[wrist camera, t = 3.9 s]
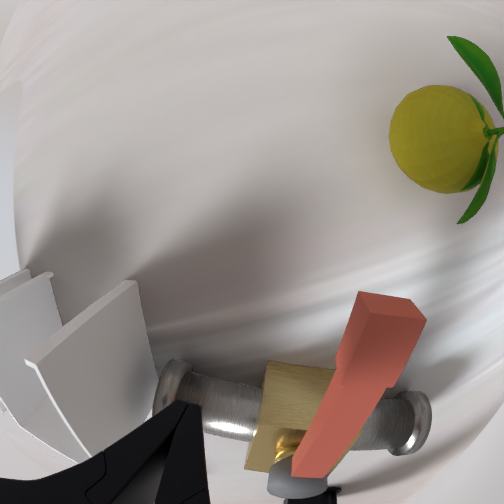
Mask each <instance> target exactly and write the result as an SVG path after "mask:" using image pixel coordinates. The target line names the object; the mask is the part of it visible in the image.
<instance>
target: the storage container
mask: <svg viewBox="0 0 504 504" xmlns="http://www.w3.org/2000/svg"><path fill="white" fill-rule="evenodd" d="M51 277H53V272H44V273H42V274H40V275H38V276H36V277H34V278H31V273H30V269H23V270H21V271H19V272H17V273H15V274H13V275H11V276H9V277H7V278H5V279H3V280H1V281H0V411H1V412H2V413H4V412H5V411H6V410H8V411H9V412H10V414H11V415H12V417H13V418H14V420H15V421H16V423H17V424H18V425H19V427H21V428H22V429H24V430H25V431H26V432H28V433H29V434H30V435H32V436H33V437H35V438H36V439H38V440H39V441H40V442H42V443H43V444H45V445H47V446H48V447H50V448H51V449H53V450H55V451H56V452H58V453H60V454H61V455H63V456H65V457H66V458H68V459H70V460H72V461H74V462H75V463H77V464H79V463H82V462H84V461H85V460H87V459H89V458H91V457H93V456H94V455H96V454H97V453H99V452H101V451H104V449H106V448H107V447H109V446H110V445H112V444H113V443H115V442H116V441H118V440H119V439H121V438H122V437H124V436H125V435H127V434H128V433H130V432H131V431H133V430H134V429H136V428H137V427H139V426H140V425H142V424H143V423H144V421H145V419H146V418H147V416H148V414H149V412H150V410H151V409H152V407H153V401H154V396H155V392H156V388H157V385H158V382H159V379H158V375H157V372H156V368H155V364H154V360H153V356H152V352H151V348H150V344H149V339H148V335H147V330H146V326H145V321H144V316H143V311H142V305H141V300H140V294H139V288H138V282H137V281H134V280H124V281H123V282H121V283H120V284H118V285H117V286H116V287H114V288H113V289H112V290H110V291H109V292H107V293H106V294H105V295H103V296H102V297H101V298H99V299H98V300H97V301H95V302H94V303H93V304H91V305H90V306H89V307H87V308H86V309H85V310H83V311H82V312H81V313H79V314H78V315H77V316H76V317H74V318H73V319H72V320H70V321H69V322H68V323H67V324H65V325H64V326H63V325H62V322H61V318H60V315H59V312H58V308H57V305H56V301H55V298H54V294H53V290H52V286H51V282H50V278H51Z"/></svg>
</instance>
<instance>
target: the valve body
mask: <svg viewBox="0 0 504 504" xmlns="http://www.w3.org/2000/svg"><path fill="white" fill-rule="evenodd" d="M335 371H336V370H330V369H321V368H313V367H305V366H298V365H292V364H285V363H279V362H273V361H267V365H266V369H265V373H264V377H263V381H262V385H261V387H255V386H250V385H245V384H240V383H235V382H230V381H226V380H221V379H217V378H213V377H209V376H205V375H201V374H197V373H193V366H192V364H191V363H190V362H186V361H183V360H179V359H175V358H173V359H171V360H170V361H169V362H168V364H167V365H166V367H165V368H164V370H163V372H162V374H161V377H160V379H159V382H158V385H157V388H156V392H155V396H154V401H153V409H152V417H153V416H154V415H156V414H157V413H158V412H160V411H161V410H163V409H164V408H165V407H167V406H168V405H169V404H171V403H172V402H173V401H175V400H176V399H181V400H185V401H188V402H189V403H195V404H199V405H201V406H202V420H203V432H204V433H208V434H212V435H217V436H221V437H226V438H230V439H235V440H240V441H246V442H249V445H248V450H247V455H246V461H245V466H244V469H246V470H252V471H259V472H266V473H269V469H270V467H271V465H272V464H274V463H276V462H278V461H281V460H284V459H289V458H292V457H293V455H294V454H295V452H296V450H297V448H298V446H299V445H300V443H301V441H302V439H303V437H304V436H305V434H306V432H307V430H308V428H309V426H310V424H311V422H312V420H313V418H314V416H315V414H316V412H317V410H318V408H319V406H320V404H321V402H322V400H323V398H324V395H325V393H326V391H327V389H328V387H329V384H330V382H331V380H332V378H333V375H334V373H335ZM431 422H432V410H431V405H430V402H429V399H428V398H427V396H426V395H425V394H424V393H423V392H421V391H403V392H401V393H399V394H398V395H397V396H396V397H395V398H394V399H380V400H379V402H378V404H377V405H376V407H375V408H374V410H373V411H372V413H371V415H370V416H369V418H368V419H367V421H366V422H365V424H364V425H363V427H362V428H361V430H360V431H359V432H358V434H357V435H356V437H355V438H354V439H353V441H352V442H351V444H350V445H349V446H348V448H347V449H346V450H345V451H344V453H343V454H342V455H341V457H340V458H339V459H338V460H337V462H336V463H335V464H334V465H333V467H332V468H331V469H330V470H329V471H328V473H327V477H328V476H329V474H330V473H331V472H332V471H333V470H334V469H335V468H336V466H337V465H338V464H339V463H340V462H341V460H342V459H343V458H344V457H345V455H346V454H347V453H348V452H349V451H357V450H381V449H388V451H389V452H390V453H391V454H392V455H395V456H400V455H408V454H413V453H415V452H416V451H418V450H419V449H420V448H421V447H422V445H423V444H424V443H425V441H426V439H427V437H428V434H429V431H430V428H431Z"/></svg>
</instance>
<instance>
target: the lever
mask: <svg viewBox="0 0 504 504" xmlns="http://www.w3.org/2000/svg"><path fill="white" fill-rule="evenodd" d="M426 321H427V319H426V318H425V317H424V316H423V314H422V313H421V312H420V311H419V309H418V308H417V307H416V306H415V305H414V303H413V302H412V301H411V300H410V299H405V298H399V297H393V296H386V295H380V294H374V293H368V292H362V291H358V294H357V297H356V300H355V303H354V306H353V309H352V312H351V315H350V318H349V321H348V324H347V327H346V330H345V333H344V335H343V338H342V341H341V343H340V346H339V349H338V351H337V354H336V357H335V362H336V367H337V368H336V371H335V373H334V375H333V378H332V380H331V382H330V384H329V387H328V389H327V391H326V393H325V395H324V398H323V400H322V402H321V404H320V406H319V408H318V410H317V412H316V414H315V416H314V418H313V420H312V422H311V424H310V426H309V428H308V430H307V432H306V434H305V436H304V437H303V439H302V441H301V443H300V445H299V446H298V448H297V450H296V452H295V454H294V455H293V457H292V458H289V459H284V460H281V461H278V462H276V463H274V464H272V465H271V467H270V469H269V478H268V486H267V491H268V492H269V493H270V494H272V495H274V496H277V497H281V498H288V499H301V498H308V497H313V496H316V495H319V494H321V493H323V492H324V491H326V489H327V487H328V486H327V473H328V471H329V470H330V469H331V468H332V467H333V465H334V464H335V463H336V462H337V460H338V459H339V458H340V457H341V455H342V454H343V453H344V451H345V450H346V449H347V448H348V446H349V445H350V444H351V442H352V441H353V439H354V438H355V437H356V435H357V434H358V432H359V431H360V430H361V428H362V427H363V425H364V424H365V422H366V421H367V419H368V418H369V416H370V415H371V413H372V411H373V410H374V408H375V407H376V405H377V404H378V402H379V400H380V399H381V397H382V395H383V394H384V392H385V390H386V388H393V387H394V385H395V383H396V382H397V380H398V378H399V376H400V374H401V373H402V371H403V369H404V367H405V365H406V363H407V361H408V359H409V357H410V355H411V353H412V351H413V349H414V347H415V345H416V343H417V341H418V339H419V337H420V334H421V332H422V330H423V328H424V325H425V323H426Z"/></svg>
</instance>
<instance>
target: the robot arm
mask: <svg viewBox="0 0 504 504" xmlns="http://www.w3.org/2000/svg"><path fill="white" fill-rule="evenodd" d="M340 492H341V488H327V489H326V491H324V492H323V493H321V494H319V495H316V496H313V497H308V498H301V499H288V498H285V500H284V504H337V494H338V493H340ZM154 502H155V503H154ZM0 504H210V497H209V490H208V480H207V471H206V460H205V448H204V435H203V420H202V406H201V405H199V404H195V403H189V402H188V401H185V400H181V399H176V400H175V401H173V402H172V403H171V404H169V405H168V406H167V407H165V408H164V409H163V410H161V411H160V412H158V413H157V414H156V415H154V416H153V417H151V418H150V419H149V420H147V421H146V422H144V423H143V424H142V425H140V426H139V427H137V428H136V429H134V430H133V431H131V432H130V433H128V434H127V435H125V436H124V437H122V438H121V439H119V440H118V441H116V442H115V443H113V444H112V445H110V446H109V447H107V448H106V449H104V451H101V452H99V453H97V454H96V455H94V456H93V457H91V458H89V459H87V460H85V461H84V462H82V463H79V464H77V465H75V466H73V467H70V468H68V469H65V470H63V471H60V472H58V473H55V474H52V475H50V476H47V477H44V478H41V479H37V480H15V479H7V478H0Z"/></svg>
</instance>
